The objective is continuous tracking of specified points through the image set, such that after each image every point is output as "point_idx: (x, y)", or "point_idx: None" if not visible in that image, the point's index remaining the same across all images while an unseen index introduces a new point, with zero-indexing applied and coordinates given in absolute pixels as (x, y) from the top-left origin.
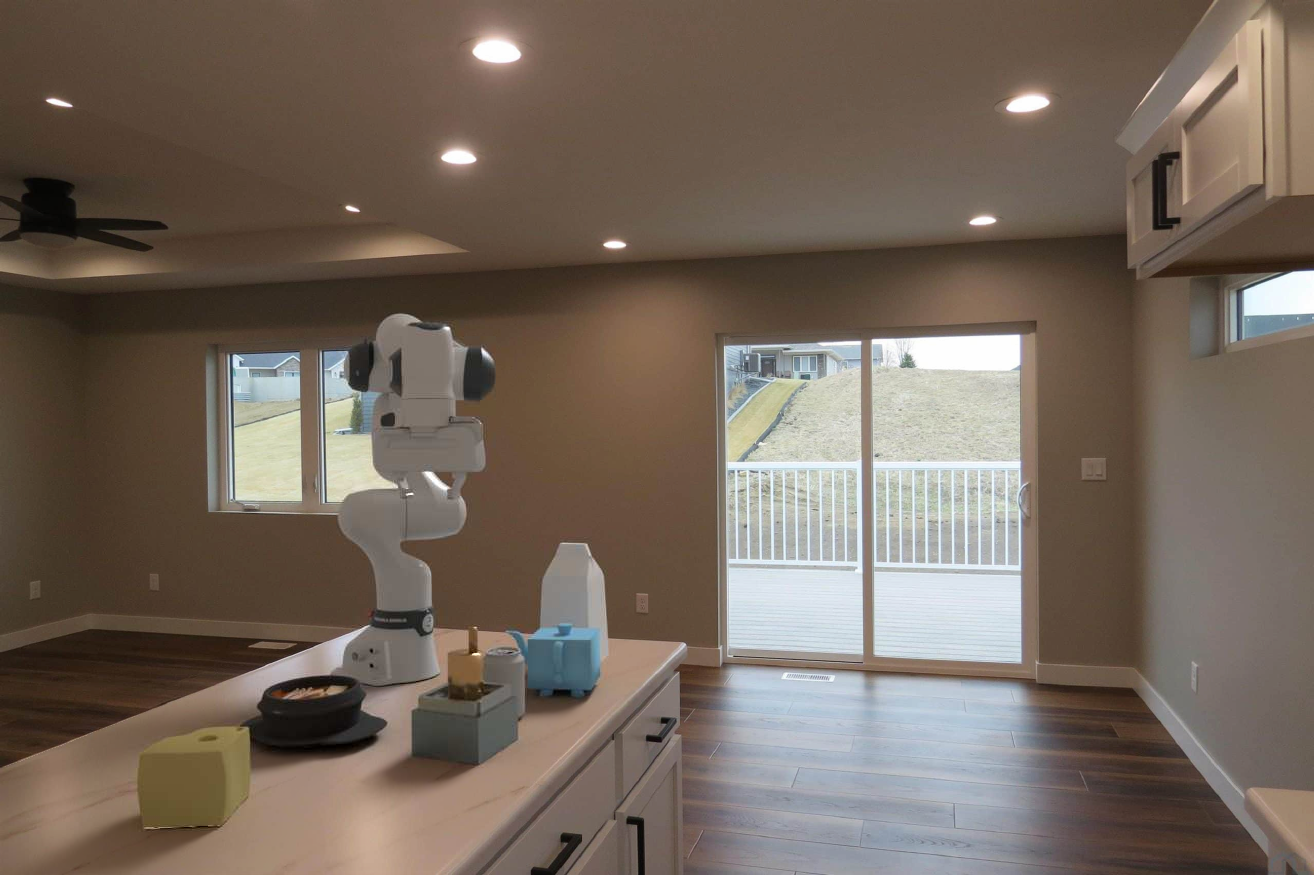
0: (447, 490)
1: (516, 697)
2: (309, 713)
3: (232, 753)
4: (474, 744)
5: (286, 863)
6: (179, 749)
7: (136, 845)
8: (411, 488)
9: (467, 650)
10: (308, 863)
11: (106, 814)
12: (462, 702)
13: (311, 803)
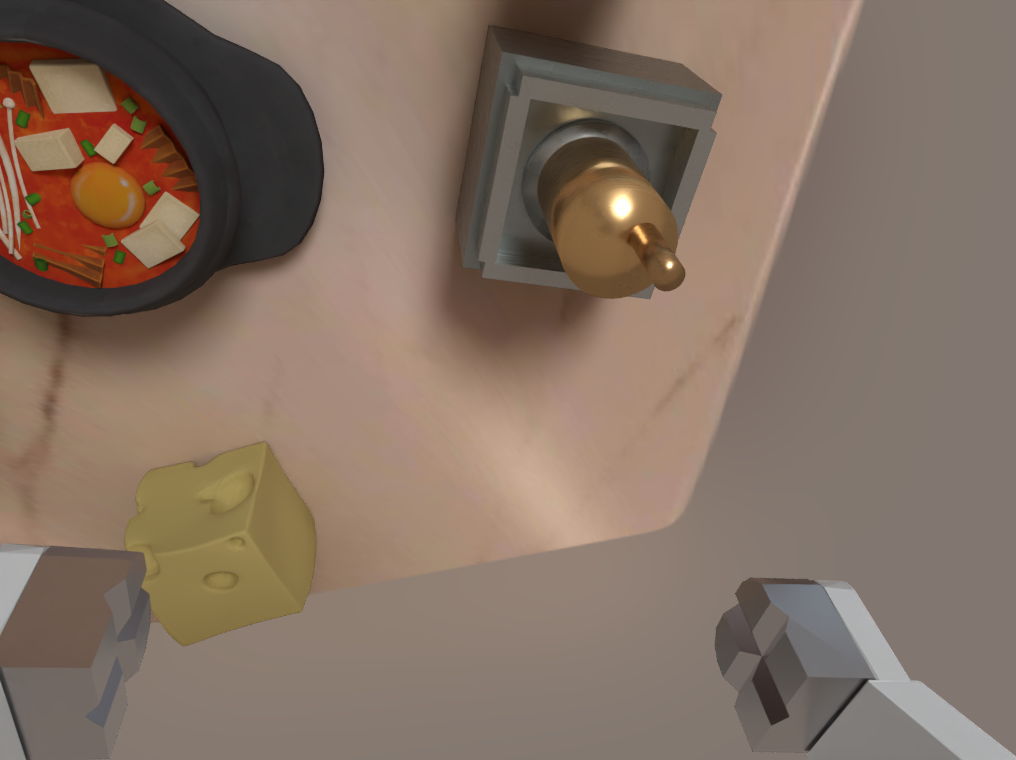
0: (754, 736)
1: (719, 102)
2: (183, 296)
3: (287, 568)
4: None
5: (474, 562)
6: (226, 622)
7: None
8: (100, 687)
9: (616, 214)
10: (501, 557)
11: (95, 525)
12: None
13: (392, 439)
